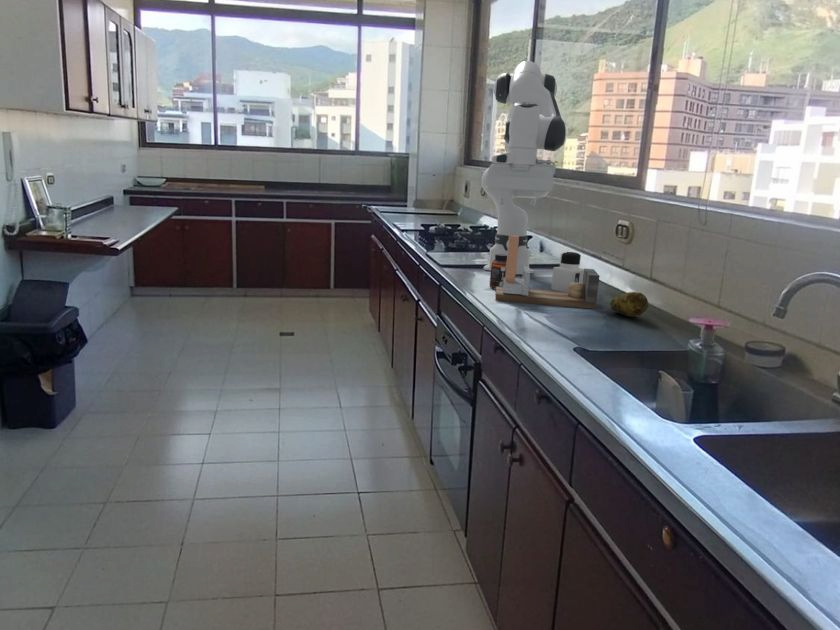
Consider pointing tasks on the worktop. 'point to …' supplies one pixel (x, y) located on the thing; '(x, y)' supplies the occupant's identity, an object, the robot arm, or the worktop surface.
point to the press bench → (558, 294)
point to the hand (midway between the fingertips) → (517, 205)
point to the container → (567, 272)
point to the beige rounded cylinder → (576, 290)
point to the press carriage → (510, 282)
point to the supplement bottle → (498, 270)
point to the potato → (630, 304)
